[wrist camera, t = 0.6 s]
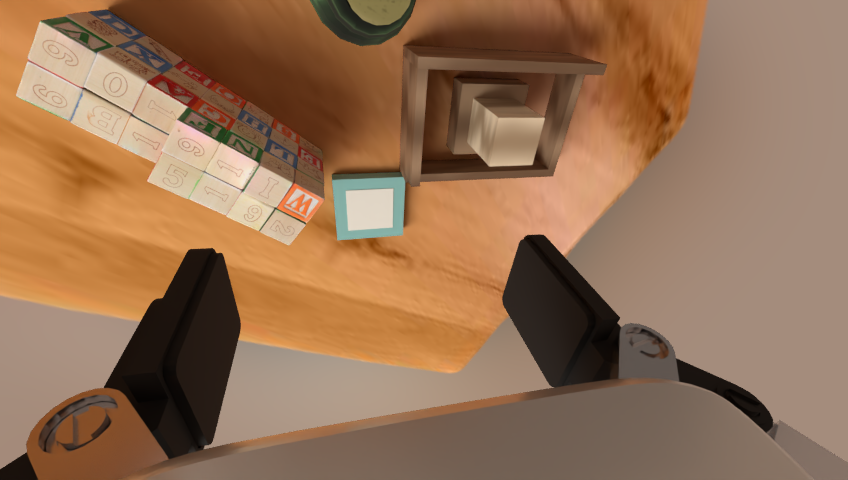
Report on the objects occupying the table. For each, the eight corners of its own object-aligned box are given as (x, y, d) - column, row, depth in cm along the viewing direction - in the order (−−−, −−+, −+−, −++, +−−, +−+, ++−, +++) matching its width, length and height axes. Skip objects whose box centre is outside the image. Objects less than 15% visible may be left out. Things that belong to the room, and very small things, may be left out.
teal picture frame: (331, 174, 43) (332, 180, 42) (403, 171, 45) (405, 177, 44) (337, 233, 49) (337, 240, 47) (400, 229, 51) (402, 235, 49)
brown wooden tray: (403, 45, 37) (418, 56, 31) (569, 53, 41) (607, 64, 36) (399, 168, 45) (410, 194, 40) (538, 163, 50) (565, 186, 44)
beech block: (473, 98, 39) (498, 117, 33) (514, 98, 40) (545, 117, 35) (466, 142, 42) (489, 166, 36) (505, 141, 43) (532, 165, 37)
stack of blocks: (81, 68, 32) (-21, 107, 22) (106, 7, 30) (5, 20, 20) (296, 189, 43) (289, 248, 34) (324, 150, 41) (326, 201, 32)
